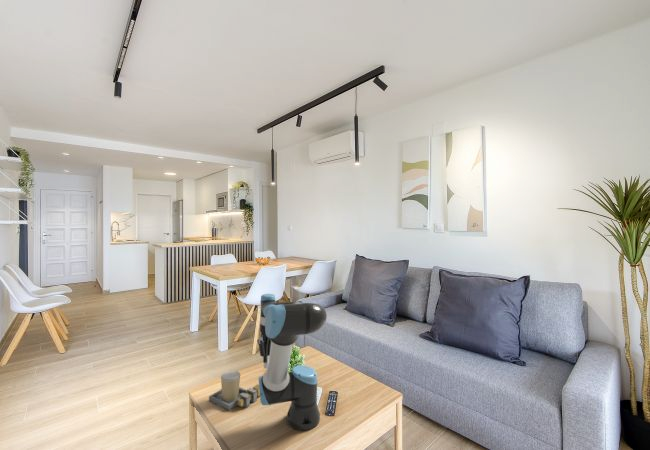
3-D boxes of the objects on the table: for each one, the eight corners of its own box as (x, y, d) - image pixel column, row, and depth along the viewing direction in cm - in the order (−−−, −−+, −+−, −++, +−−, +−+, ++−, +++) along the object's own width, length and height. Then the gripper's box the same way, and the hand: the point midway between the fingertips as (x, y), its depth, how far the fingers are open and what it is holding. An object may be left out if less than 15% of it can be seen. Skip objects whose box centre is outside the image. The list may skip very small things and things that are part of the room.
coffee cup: (242, 393, 159) (243, 370, 158) (235, 404, 149) (236, 380, 149) (225, 391, 160) (225, 369, 159) (217, 402, 150) (217, 378, 150)
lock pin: (257, 391, 160) (257, 384, 160) (262, 393, 158) (262, 386, 158) (236, 405, 148) (236, 398, 147) (242, 408, 146) (242, 400, 146)
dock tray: (258, 399, 155) (258, 389, 155) (237, 415, 143) (237, 404, 142) (230, 388, 164) (230, 378, 164) (209, 401, 152) (209, 391, 152)
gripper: (269, 319, 170) (268, 361, 170) (253, 325, 158) (252, 371, 159) (280, 321, 166) (279, 364, 166) (264, 328, 155) (263, 374, 155)
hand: (266, 367), depth 163 cm, fingers closed
